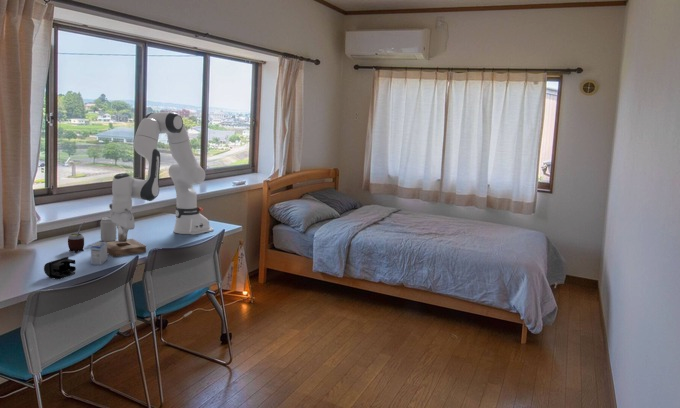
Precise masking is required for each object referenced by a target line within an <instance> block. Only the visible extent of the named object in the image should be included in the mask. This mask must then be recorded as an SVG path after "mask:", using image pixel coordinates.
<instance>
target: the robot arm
mask: <svg viewBox="0 0 680 408" xmlns="http://www.w3.org/2000/svg"><path fill="white" fill-rule="evenodd" d="M160 134H166V136H167V141H168V145H169V150H170V154H171V156H172V158H173V159H174V160H175V161H176V162H175V163H172V164H171V165H170V166H169V167H168V175H169V177H170V178H171V181H172V183H173V185H174V189H175V197H176V207H175V223H174V227H173V233H176V234H181V235H193V236H194V235H200V234H203V233H210V232H213V231H214V230H215V229H214V228H213V227H212V226H210V221H209V219H208V218H207V217H206V216H204V215H203V214H201V212H202V213H203V211H204V209H203V208H202V207H198V204H197V203H198V194H197V191H196V190H195V189H194V185H200V184H202V183H204V181H205V179H206V171H205V169H204V168H202V166H201V165H200V164H199V162H198V160H197V159H196V156H195V155H194V152H193V149H192V146H191V142H190V137H189V133H188V131H187V128H186V126H185V123H184V120H183V117H182V116H181V115H180V114H179V113H177V112H173V111H172V112H168V111H161V112H151V113H150V112H149V113H148V114H146V115H145V116H144V117H143V119H141V120H140V122H139V124H138V126H137V130H136V132H135V135H134V139H133V149H134V152H136V154H138V155H139V156H141V157H143V158H144V159H146V160H147V162H148V169H147V178H146V179H139V178H134V177H132V176H131V174H130V173H126V172H122V173H117V174H115V175H113V178H112V185H111V186H112V187H111V191H112V193H111V194H112V196H113V197H112V202H111V203H110V204H109V205H108V206H109V209H110V212H109V213H110V217H111V221H112V222H113V223H115V224H116V229H118V225H119V226H121V227H123V230H124V231H123V236H124V237H125V236H127V237H128V232H129V231H130V230H134V229H135V217H134V214H133V213H132V211H133V199H137V200H143V201H149V202H152V201H154V200H155V199H156V198H157V197H158V196H159V194H160V169H161V152H160V150H158V141H159V137H160Z"/></svg>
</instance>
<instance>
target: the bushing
mask: <svg viewBox="0 0 680 408" xmlns="http://www.w3.org/2000/svg"><path fill="white" fill-rule="evenodd" d="M123 231H124V230H123V227H121V226H119V225H118V228H117V235H118V236H117V239H118V240H117V241H118V242H126V241H127V239H128V235H127V236H125V237H124V236H123Z"/></svg>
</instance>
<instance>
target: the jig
mask: <svg viewBox="0 0 680 408" xmlns="http://www.w3.org/2000/svg"><path fill="white" fill-rule="evenodd" d="M146 252H147V245H145V244H143V243H141V242H139V241H138V240H135V239H133V238H127V241H126V242H118V240H115V241H112V242H107V255H110V256H111V257H113V258H114V257H116V258H117V257H121V256H127V255H135V254H141V253H146Z"/></svg>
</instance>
